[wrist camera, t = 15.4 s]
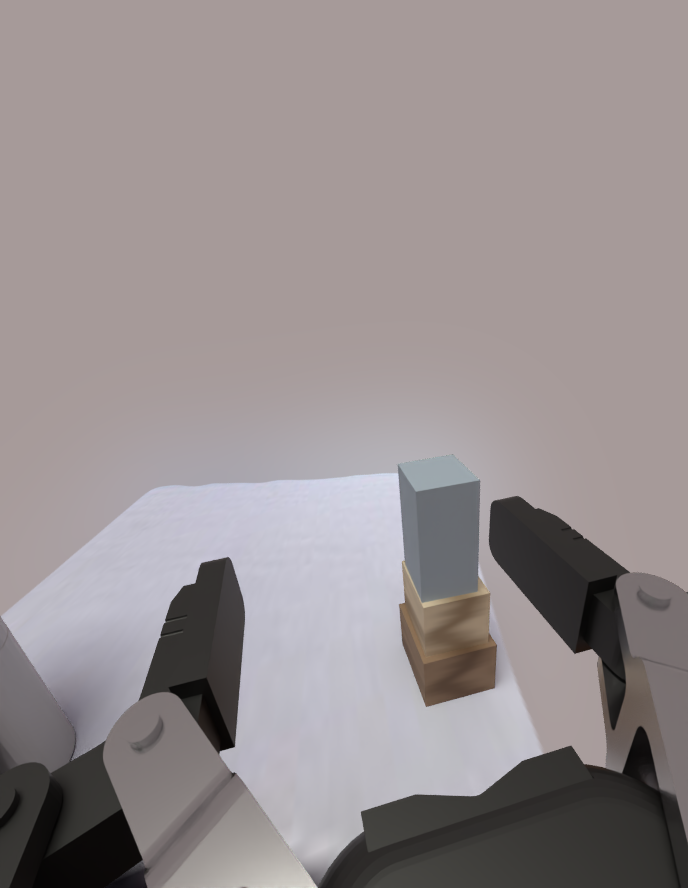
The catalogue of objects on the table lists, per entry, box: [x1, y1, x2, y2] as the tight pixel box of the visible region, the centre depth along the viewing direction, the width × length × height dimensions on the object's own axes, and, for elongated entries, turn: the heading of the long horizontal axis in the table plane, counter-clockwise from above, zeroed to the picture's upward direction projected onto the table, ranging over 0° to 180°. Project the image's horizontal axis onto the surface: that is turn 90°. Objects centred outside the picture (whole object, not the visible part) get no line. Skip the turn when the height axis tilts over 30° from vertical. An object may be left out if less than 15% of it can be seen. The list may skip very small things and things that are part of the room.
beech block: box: [402, 561, 490, 657], centre depth 35 cm, size 6×6×6 cm
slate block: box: [398, 454, 480, 603], centre depth 32 cm, size 5×5×11 cm
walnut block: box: [399, 603, 497, 707], centre depth 37 cm, size 7×7×6 cm
